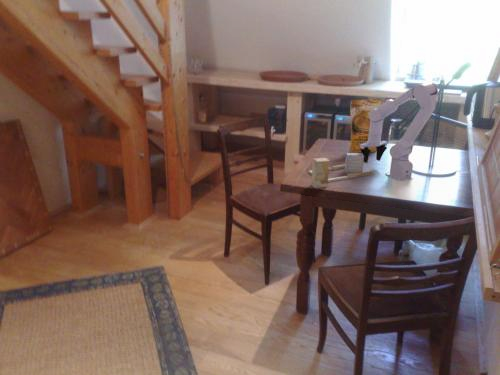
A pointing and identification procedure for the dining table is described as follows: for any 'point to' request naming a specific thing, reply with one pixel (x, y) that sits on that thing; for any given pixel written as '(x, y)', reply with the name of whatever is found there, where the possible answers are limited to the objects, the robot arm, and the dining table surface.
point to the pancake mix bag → (361, 122)
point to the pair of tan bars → (352, 173)
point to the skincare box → (320, 172)
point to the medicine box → (354, 162)
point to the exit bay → (333, 178)
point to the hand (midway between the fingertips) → (371, 161)
